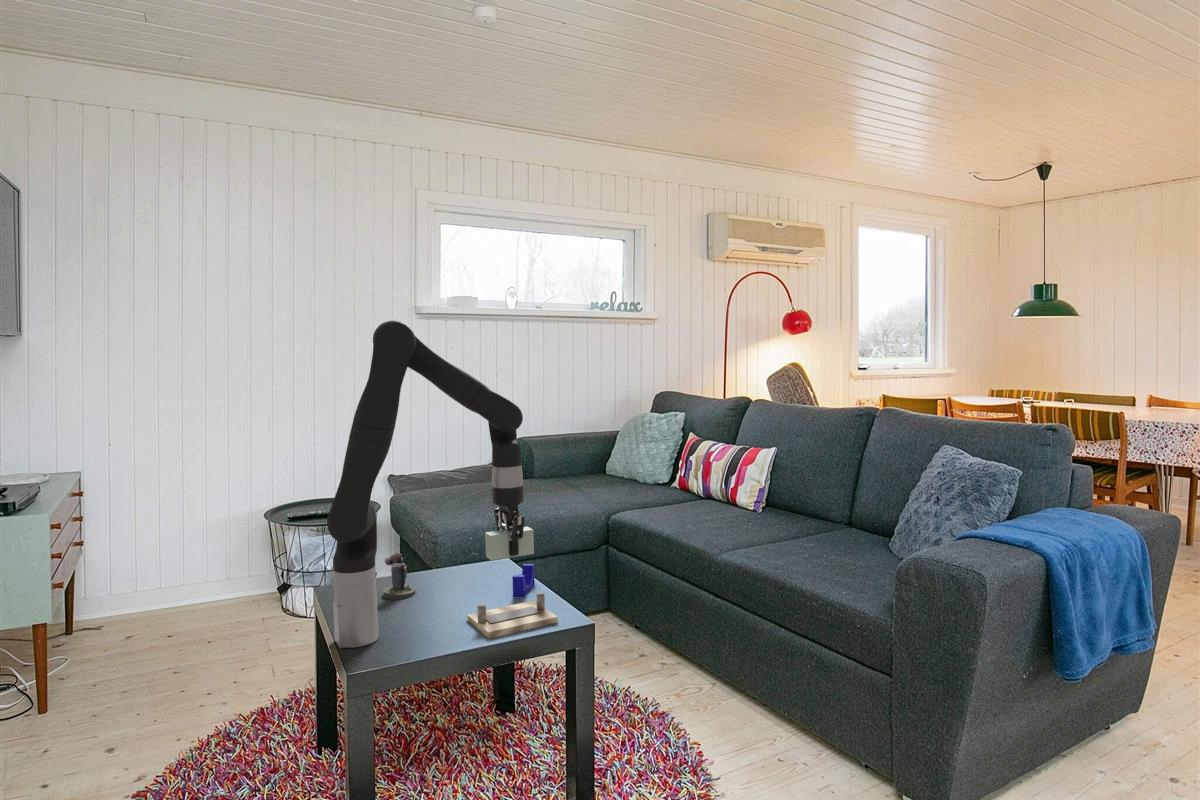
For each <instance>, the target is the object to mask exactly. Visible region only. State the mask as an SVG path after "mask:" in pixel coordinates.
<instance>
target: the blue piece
mask: <svg viewBox="0 0 1200 800" xmlns="http://www.w3.org/2000/svg"><path fill="white" fill-rule="evenodd" d="M521 566H522V567H521V568H522V569H521V573H518V574H513V576H512V577H511V578H512V579H511V580H512V598H513V597H523V598H522V599H524V598H525V597H526V596H527V595H528V593H530V591H531V589H533V587H532V586H535V583H536V582H535V564H534V563H523V564H522V565H521ZM529 590H530V591H529ZM526 594H527V595H526ZM525 595H526V596H525Z"/></svg>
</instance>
